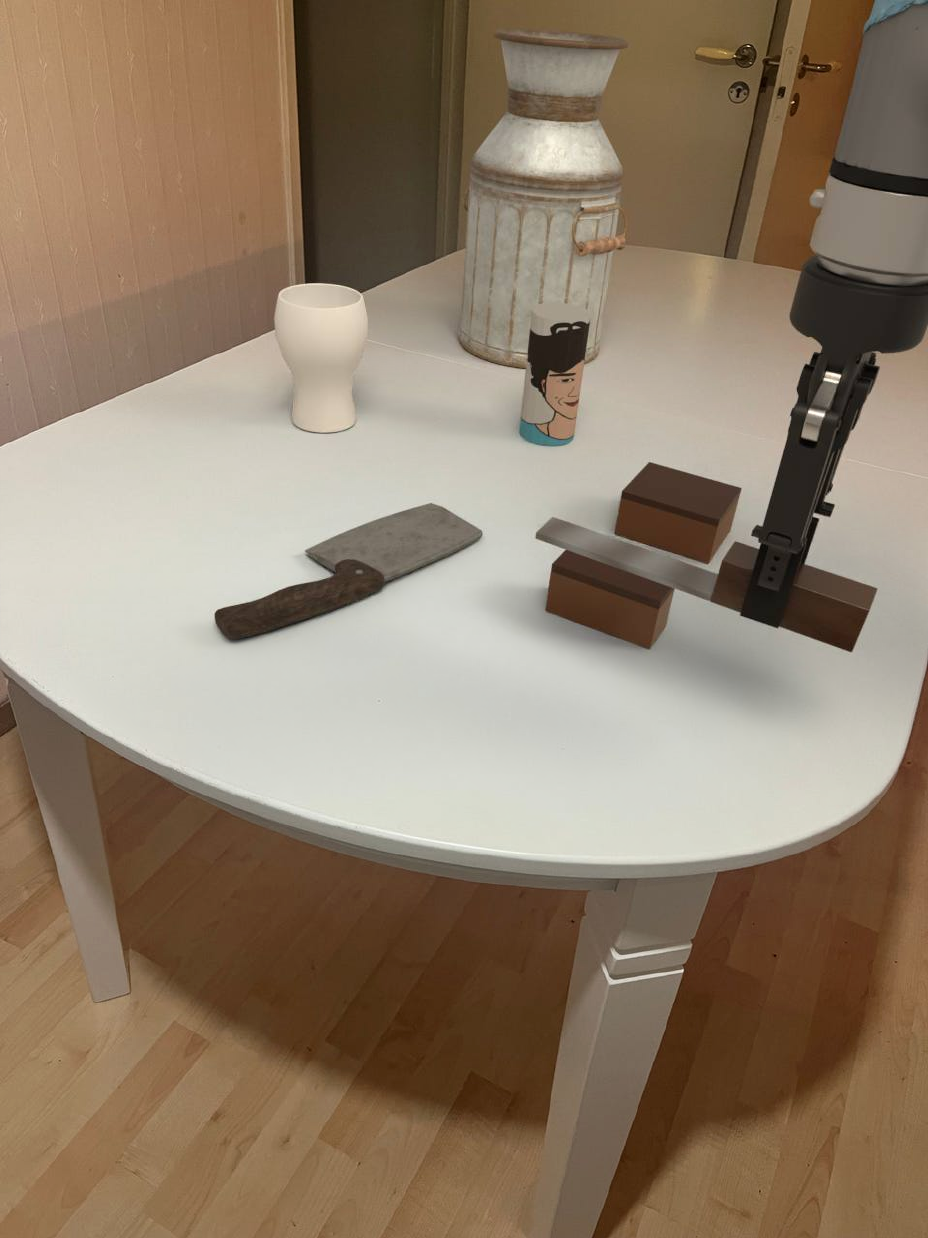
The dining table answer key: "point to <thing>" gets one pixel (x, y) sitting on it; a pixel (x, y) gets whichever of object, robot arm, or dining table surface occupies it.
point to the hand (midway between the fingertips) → (767, 605)
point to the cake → (677, 511)
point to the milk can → (542, 195)
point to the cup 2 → (554, 373)
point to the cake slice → (608, 599)
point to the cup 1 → (322, 351)
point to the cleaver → (355, 567)
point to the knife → (733, 582)
